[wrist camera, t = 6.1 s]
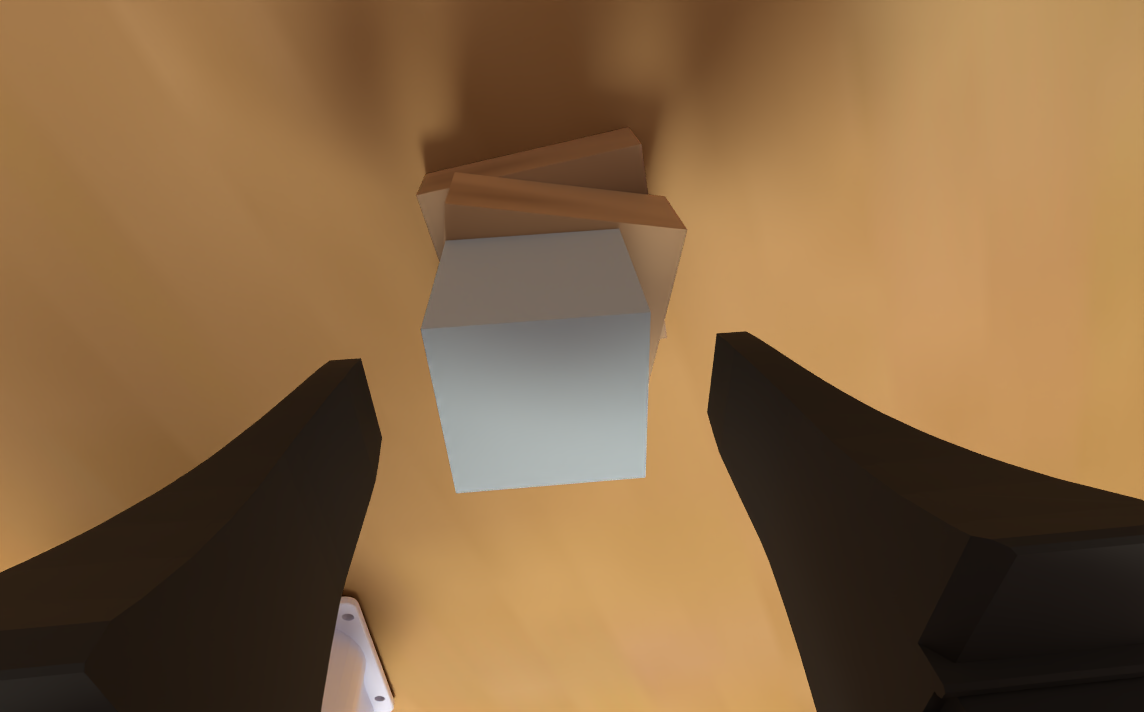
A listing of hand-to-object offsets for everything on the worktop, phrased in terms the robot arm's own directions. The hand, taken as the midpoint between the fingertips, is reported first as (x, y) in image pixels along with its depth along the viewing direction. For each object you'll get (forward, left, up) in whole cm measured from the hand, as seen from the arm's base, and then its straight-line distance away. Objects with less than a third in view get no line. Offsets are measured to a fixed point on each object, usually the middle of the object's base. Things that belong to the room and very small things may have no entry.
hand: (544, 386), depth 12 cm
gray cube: (0, 0, -3) cm, 3 cm away
